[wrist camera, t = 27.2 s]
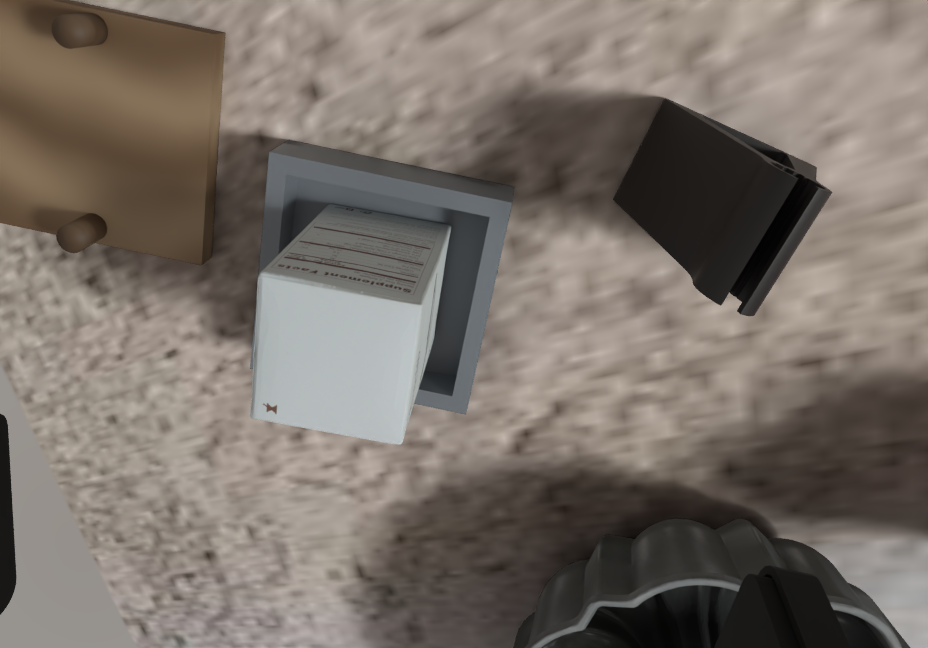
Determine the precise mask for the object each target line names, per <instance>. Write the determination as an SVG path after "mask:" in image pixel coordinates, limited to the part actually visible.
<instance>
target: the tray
mask: <svg viewBox="0 0 928 648" xmlns="http://www.w3.org/2000/svg"><path fill="white" fill-rule="evenodd" d="M513 195H514V187H512V186H507V185H502V184H497V183H493V182H488V181H483V180H478V179H473V178H469V177H464V176H459V175H454V174H450V173H445V172H440V171H435V170H430V169H426V168H421V167H416V166H411V165H407V164H402V163H397V162H392V161H387V160H383V159H378V158H373V157H368V156H364V155H359V154H354V153H349V152H344V151H340V150H335V149H330V148H325V147H321V146H316V145H311V144H306V143H301V142H297V141H292V140H288V141H286V142H284V143H283V144H281V145H280V146H278V147H276V148H275V149H273V150H271V151H270V152H269V159H268V171H267V182H266V194H265V205H264V216H263V228H262V239H261V251H260V262H259V274H260V272H261V271H262V270H264V269H265V268H266V267H267V266H268V265H269V264H270V263H271V262H272V261H273V260H274V259H275V258H276V257H277V256H278V255H279V254H280V253H281V252H282V251H283V250H284V249H285V248H286V247H287V246H288V245H289V244H290V243H291V242H292V241H293V240H294V239H295V238H296V237H297V236H298V235H299V234H300V233H301V232H302V231H303V230H304V229H305V228H306V227H307V226H308V225H309V224H310V223H311V222H312V221H313V220H314V219H315V218H316V217H317V216H318V215H319V214H320V213H321V212H322V211H323V210H324V209H325V208H326V207H327V206H328V205H329V204H334V205H340V206H345V207H350V208H357V209H362V210H368V211H374V212H379V213H385V214H390V215H396V216H401V217H407V218H413V219H418V220H424V221H429V222H435V223H440V224H447V225H451V232H450V237H449V243H448V248H447V254H446V261H445V267H444V274H443V281H442V287H441V293H440V299H439V306H438V312H437V319H436V327H435V337H434V341H433V344H432V347H431V351H430V354H429V357H428V360H427V364H426V367H425V370H424V373H423V377H422V380H421V383H420V386H419V389H418V392H417V395H416V399H415V402H414V404H418V405H423V406H428V407H433V408H437V409H442V410H447V411H452V412H456V413H461V414H466V412H467V407H468V403H469V398H470V394H471V389H472V385H473V380H474V375H475V371H476V366H477V362H478V357H479V353H480V348H481V344H482V339H483V334H484V330H485V325H486V321H487V316H488V312H489V307H490V302H491V298H492V293H493V289H494V284H495V280H496V275H497V271H498V266H499V261H500V257H501V252H502V248H503V243H504V239H505V234H506V230H507V225H508V220H509V216H510V211H511V207H512V202H513ZM259 274H258V276H259ZM257 287H258V285H257ZM256 307H257V296H256ZM255 326H256V308H255V319H254V331H253V342H252V354H251V365H250V369H253V364H254V359H253V352H254V342H255Z"/></svg>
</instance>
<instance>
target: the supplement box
mask: <svg viewBox="0 0 928 648" xmlns="http://www.w3.org/2000/svg"><path fill="white" fill-rule="evenodd" d="M450 232H451V225H447V224H440V223H435V222H429V221H424V220H418V219H413V218H407V217H401V216H396V215H390V214H385V213H379V212H374V211H368V210H362V209H357V208H350V207H345V206H340V205H334V204H329V205H328V206H327V207H326V208H325V209H324V210H323V211H322V212H321V213H320V214H319V215H318V216H317V217H316V218H315V219H314V220H313V221H312V222H311V223H310V224H309V225H308V226H307V227H306V228H305V229H304V230H303V231H302V232H301V233H300V234H299V235H298V236H297V237H296V238H295V239H294V240H293V241H292V242H291V243H290V244H289V245H288V246H287V247H286V248H285V249H284V250H283V251H282V252H281V253H280V254H279V255H278V256H277V257H276V258H275V259H274V260H273V261H272V262H271V263H270V264H269V265H268V266H267V267H266V268H265V269H264V270H262V271H261V272H260V274H259V276H258V287H257V307H256V326H255V342H254V352H253V359H254V364H253V383H252V402H251V413H250V416H251V418H252V419H257V420H264V421H270V422H275V423H280V424H285V425H291V426H296V427H302V428H307V429H313V430H318V431H324V432H329V433H335V434H340V435H345V436H351V437H357V438H362V439H368V440H373V441H378V442H384V443H390V444H398V445H400V444H402V442H403V439H404V435H405V431H406V428H407V425H408V422H409V418H410V415H411V412H412V408H413V405H414V402H415V399H416V395H417V392H418V389H419V386H420V383H421V380H422V377H423V373H424V370H425V367H426V364H427V360H428V357H429V354H430V351H431V347H432V344H433V341H434V337H435V327H436V319H437V312H438V306H439V299H440V293H441V287H442V281H443V274H444V267H445V261H446V254H447V248H448V243H449V237H450Z"/></svg>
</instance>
